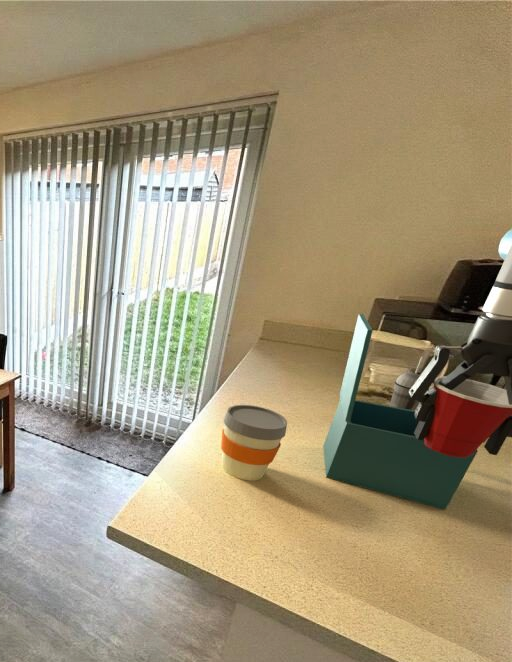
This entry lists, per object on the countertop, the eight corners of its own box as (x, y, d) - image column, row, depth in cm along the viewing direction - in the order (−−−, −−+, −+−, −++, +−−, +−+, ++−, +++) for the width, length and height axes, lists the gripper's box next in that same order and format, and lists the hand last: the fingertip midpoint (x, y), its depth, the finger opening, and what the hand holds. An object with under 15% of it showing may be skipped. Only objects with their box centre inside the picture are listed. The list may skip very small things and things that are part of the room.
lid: (363, 313, 92) (358, 313, 93) (372, 329, 80) (367, 329, 81) (343, 395, 100) (339, 395, 100) (349, 422, 87) (345, 421, 88)
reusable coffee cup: (202, 459, 102) (214, 407, 96) (243, 452, 104) (256, 401, 98) (240, 489, 90) (255, 432, 84) (284, 480, 93) (302, 425, 87)
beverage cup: (382, 421, 118) (408, 359, 110) (378, 412, 123) (403, 352, 115) (415, 428, 114) (445, 364, 106) (410, 418, 119) (438, 356, 111)
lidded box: (426, 471, 95) (453, 417, 89) (445, 509, 83) (478, 450, 77) (323, 446, 106) (341, 397, 100) (326, 477, 94) (346, 423, 88)
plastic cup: (501, 475, 62) (540, 408, 58) (407, 451, 69) (435, 390, 64) (488, 447, 70) (522, 385, 65) (405, 427, 77) (430, 371, 72)
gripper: (614, 319, 57) (534, 451, 66) (416, 305, 68) (371, 420, 77) (649, 331, 52) (557, 473, 61) (428, 314, 63) (377, 436, 72)
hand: (453, 443), depth 69 cm, fingers closed on plastic cup, 8 cm apart
